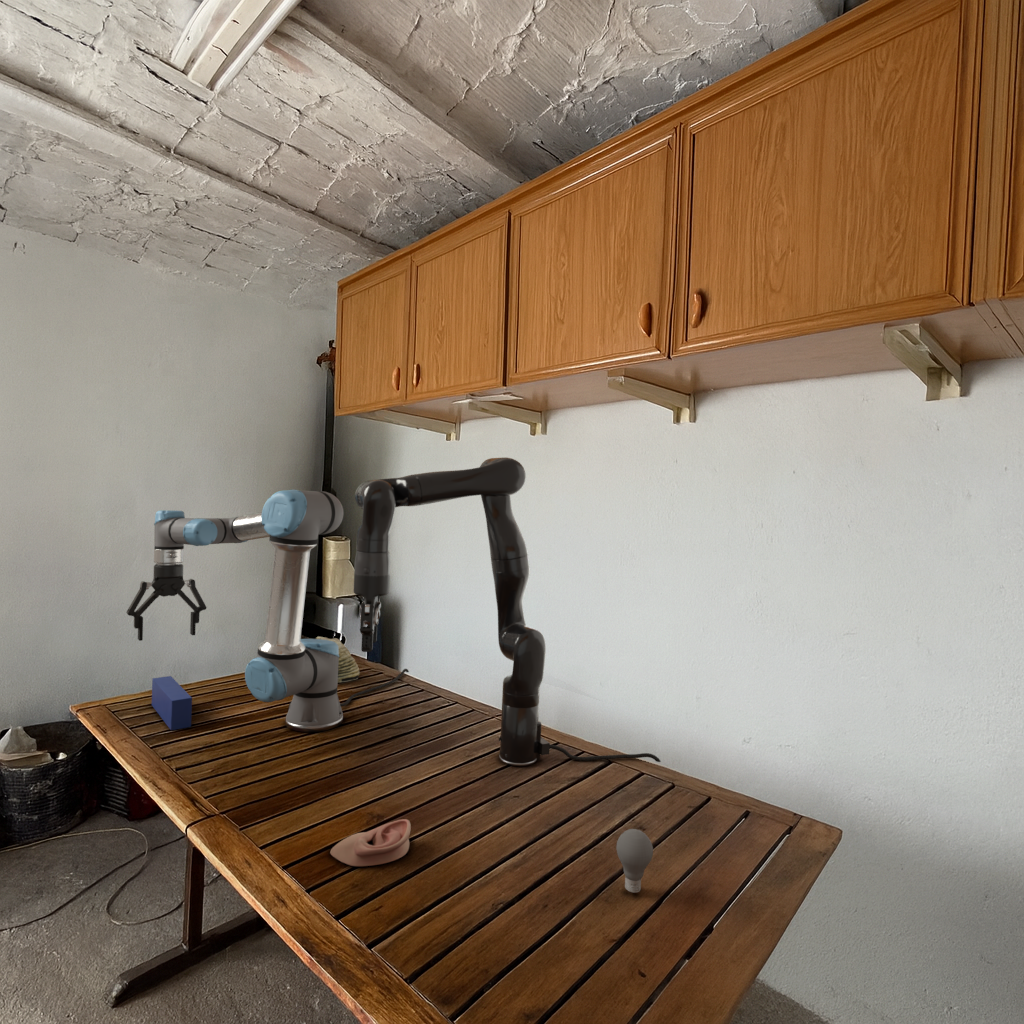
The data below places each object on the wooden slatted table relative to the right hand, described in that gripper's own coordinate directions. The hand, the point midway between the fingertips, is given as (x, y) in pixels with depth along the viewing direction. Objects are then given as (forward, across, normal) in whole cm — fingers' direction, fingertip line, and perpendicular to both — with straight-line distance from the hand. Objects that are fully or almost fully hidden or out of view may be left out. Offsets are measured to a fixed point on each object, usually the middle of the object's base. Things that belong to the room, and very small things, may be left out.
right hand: (369, 646), depth 137 cm
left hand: (+11, +53, +63) cm, 83 cm away
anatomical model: (+31, -24, -4) cm, 40 cm away
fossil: (+31, +81, +20) cm, 89 cm away
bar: (+31, +46, +59) cm, 81 cm away
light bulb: (+31, -38, -49) cm, 69 cm away
